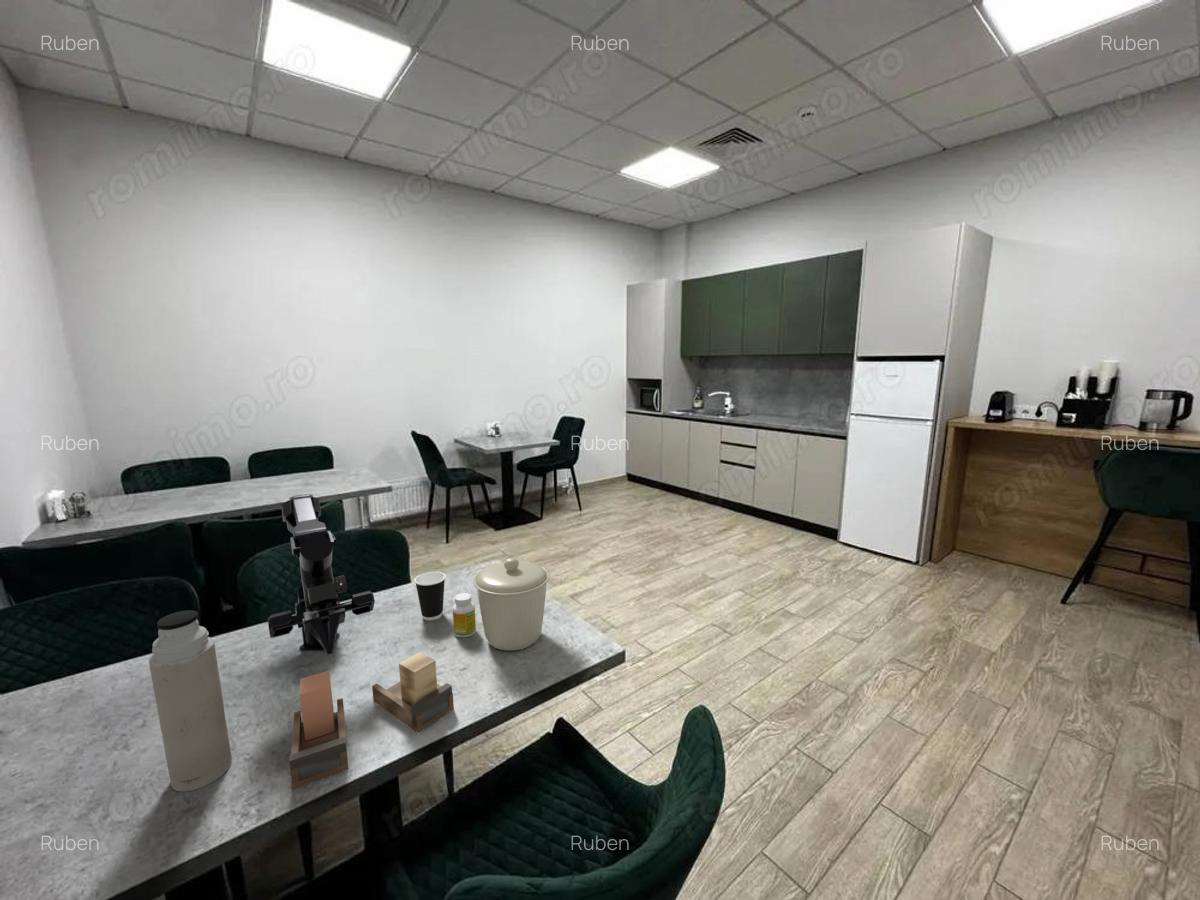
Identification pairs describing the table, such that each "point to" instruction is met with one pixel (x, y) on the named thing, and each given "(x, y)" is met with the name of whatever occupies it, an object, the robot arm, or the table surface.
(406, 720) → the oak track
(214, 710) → the thermos bottle
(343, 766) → the dark wooden block holder
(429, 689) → the oak slider
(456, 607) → the supplement bottle
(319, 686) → the terracotta slider
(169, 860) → the table surface
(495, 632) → the canister
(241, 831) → the table surface
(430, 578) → the dixie cup
